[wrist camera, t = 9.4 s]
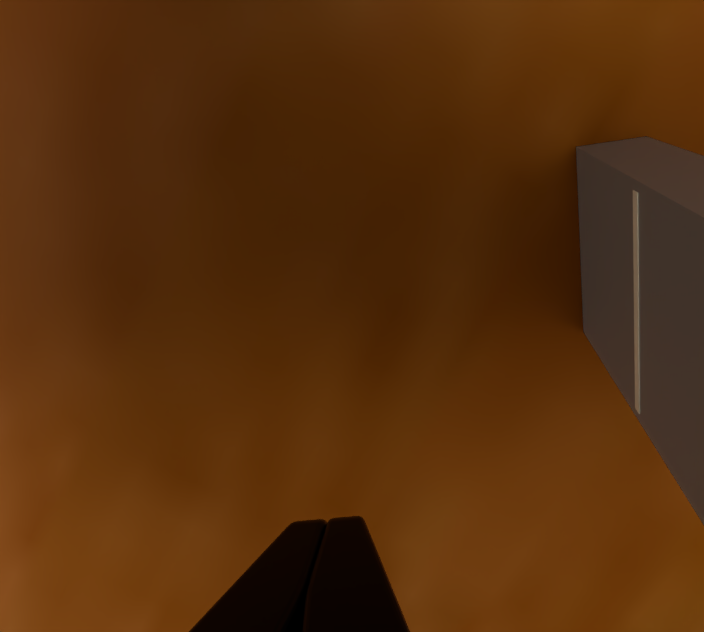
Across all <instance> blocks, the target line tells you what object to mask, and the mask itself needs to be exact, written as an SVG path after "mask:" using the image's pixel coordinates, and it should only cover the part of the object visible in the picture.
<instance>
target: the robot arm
mask: <svg viewBox="0 0 704 632" xmlns="http://www.w3.org/2000/svg"><path fill="white" fill-rule="evenodd" d="M189 632H410V631H409V628H408V626H407V623H406V621H405V618H404V616H403V614H402V611H401V609H400V606H399V604H398V601H397V599H396V596H395V594H394V591H393V589H392V587H391V584H390V582H389V579H388V577H387V574H386V572H385V569H384V567H383V565H382V562H381V560H380V557H379V555H378V552H377V550H376V547H375V545H374V543H373V540H372V538H371V535H370V533H369V530H368V528H367V525H366V523H365V521H364V519H363V518H362V517H360V516H351V517H340V518H332V519H330V520H329V521H328V523H327V522H326V521H325V520H323V519H317V520H306V521H296V522H293V523H291V524H290V525H289V526H288V527H287V528H286V529H285V530H284V531H283V532H282V533H281V534H280V535H279V536H278V537H277V538H276V539H275V541H274V542H273V543H272V544H271V545H270V546H269V547H268V548H267V549H266V550H265V551H264V552H263V553H262V554H261V555H260V557H259V558H258V559H257V560H256V561H255V562H254V563H253V564H252V565H251V566H250V567H249V568H248V569H247V570H246V571H245V573H244V574H243V575H242V576H241V577H240V578H239V579H238V580H237V581H236V582H235V583H234V584H233V585H232V586H231V587H230V588H229V590H228V591H227V592H226V593H225V594H224V595H223V596H222V597H221V598H220V599H219V600H218V601H217V602H216V603H215V604H214V606H213V607H212V608H211V609H210V610H209V611H208V612H207V613H206V614H205V615H204V616H203V617H202V618H201V619H200V620H199V622H198V623H197V624H196V625H195V626H194V627H193V628H192V629H191V630H190V631H189Z"/></svg>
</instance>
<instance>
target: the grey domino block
mask: <svg viewBox="0 0 704 632" xmlns="http://www.w3.org/2000/svg"><path fill="white" fill-rule="evenodd" d="M576 158H577V183H578V208H579V233H580V258H581V283H582V308H583V332H584V334H585V335H586V337H587V338H588V340H589V342H590V343H591V345H592V346H593V348H594V350H595V351H596V353H597V355H598V356H599V358H600V359H601V361H602V363H603V364H604V366H605V367H606V369H607V371H608V372H609V374H610V375H611V377H612V379H613V380H614V382H615V383H616V385H617V387H618V388H619V390H620V391H621V393H622V395H623V396H624V398H625V399H626V401H627V403H628V404H629V406H630V407H631V409H632V411H633V412H634V414H635V416H636V417H637V419H638V420H639V422H640V424H641V425H642V427H643V428H644V430H645V432H646V433H647V435H648V436H649V438H650V440H651V441H652V443H653V444H654V446H655V448H656V449H657V451H658V452H659V454H660V456H661V457H662V459H663V460H664V462H665V464H666V465H667V467H668V468H669V470H670V472H671V473H672V475H673V476H674V478H675V480H676V481H677V483H678V485H679V486H680V488H681V489H682V491H683V493H684V494H685V496H686V497H687V499H688V501H689V502H690V504H691V505H692V507H693V509H694V510H695V512H696V513H697V515H698V517H699V518H700V520H701V521H702V523H703V525H704V156H702V155H699V154H696V153H693V152H690V151H688V150H685V149H682V148H679V147H676V146H673V145H670V144H667V143H664V142H661V141H659V140H656V139H653V138H650V137H647V136H645V137H639V138H632V139H625V140H619V141H612V142H605V143H598V144H592V145H585V146H578V147H576Z"/></svg>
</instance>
